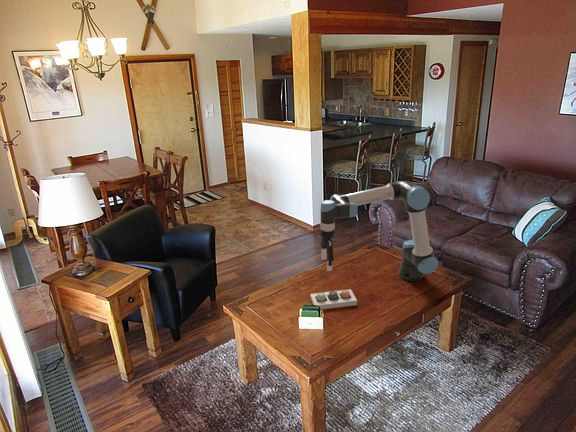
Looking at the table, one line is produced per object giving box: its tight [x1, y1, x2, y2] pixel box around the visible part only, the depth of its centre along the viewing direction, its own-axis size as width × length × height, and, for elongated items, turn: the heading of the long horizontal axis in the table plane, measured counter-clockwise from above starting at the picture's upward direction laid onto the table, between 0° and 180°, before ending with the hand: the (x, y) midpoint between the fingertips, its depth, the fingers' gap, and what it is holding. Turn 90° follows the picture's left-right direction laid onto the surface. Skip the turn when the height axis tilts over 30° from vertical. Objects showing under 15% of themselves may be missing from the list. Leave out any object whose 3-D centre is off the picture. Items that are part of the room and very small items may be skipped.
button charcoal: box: [328, 290, 338, 301], centre depth 227 cm, size 5×5×3 cm
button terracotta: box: [341, 289, 350, 299], centre depth 227 cm, size 5×5×3 cm
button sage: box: [317, 292, 326, 302], centre depth 226 cm, size 5×5×3 cm
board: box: [310, 288, 358, 310], centre depth 227 cm, size 24×12×3 cm, turn 99°
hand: (326, 264), depth 221 cm, fingers open, 13 cm apart
